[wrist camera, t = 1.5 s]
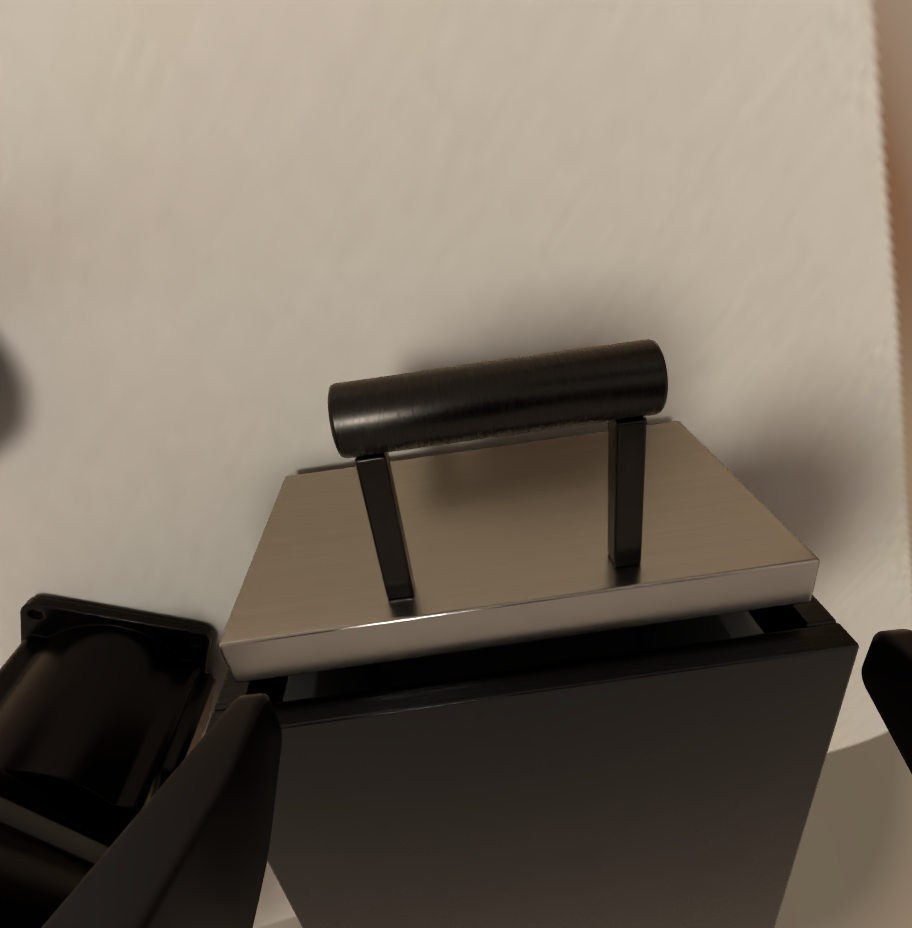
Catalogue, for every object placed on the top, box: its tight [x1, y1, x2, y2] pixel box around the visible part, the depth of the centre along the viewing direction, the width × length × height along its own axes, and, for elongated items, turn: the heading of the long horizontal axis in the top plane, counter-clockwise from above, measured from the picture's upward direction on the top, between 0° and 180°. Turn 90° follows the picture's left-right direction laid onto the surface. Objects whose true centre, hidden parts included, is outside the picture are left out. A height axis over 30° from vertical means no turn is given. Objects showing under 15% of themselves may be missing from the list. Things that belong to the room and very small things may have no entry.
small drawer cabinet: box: [206, 595, 859, 928], centre depth 19 cm, size 13×14×9 cm
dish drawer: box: [219, 339, 820, 702], centre depth 17 cm, size 17×13×7 cm
